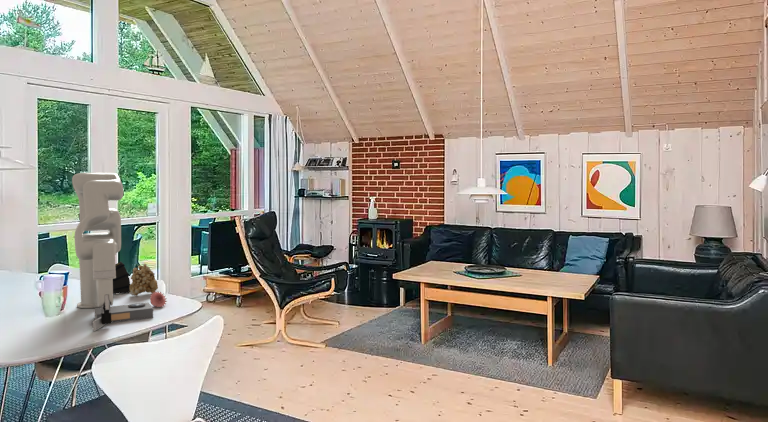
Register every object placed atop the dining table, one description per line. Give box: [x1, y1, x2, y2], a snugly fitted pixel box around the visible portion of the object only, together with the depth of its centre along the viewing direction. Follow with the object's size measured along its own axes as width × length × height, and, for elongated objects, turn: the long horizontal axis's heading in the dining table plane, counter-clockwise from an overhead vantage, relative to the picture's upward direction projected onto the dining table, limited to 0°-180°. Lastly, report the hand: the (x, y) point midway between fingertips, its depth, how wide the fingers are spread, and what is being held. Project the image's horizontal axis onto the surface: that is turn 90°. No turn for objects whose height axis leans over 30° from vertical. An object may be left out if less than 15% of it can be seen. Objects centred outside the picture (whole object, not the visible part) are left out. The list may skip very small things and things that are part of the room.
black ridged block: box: [113, 261, 131, 295], centre depth 273 cm, size 4×13×15 cm, turn 124°
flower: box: [149, 290, 168, 308], centre depth 245 cm, size 8×8×6 cm
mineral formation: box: [128, 263, 159, 297], centre depth 269 cm, size 8×13×15 cm, turn 137°
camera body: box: [93, 301, 154, 324], centre depth 225 cm, size 12×20×4 cm, turn 121°
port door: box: [91, 317, 106, 332], centre depth 211 cm, size 2×11×4 cm, turn 4°
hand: (106, 323), depth 211 cm, fingers closed
